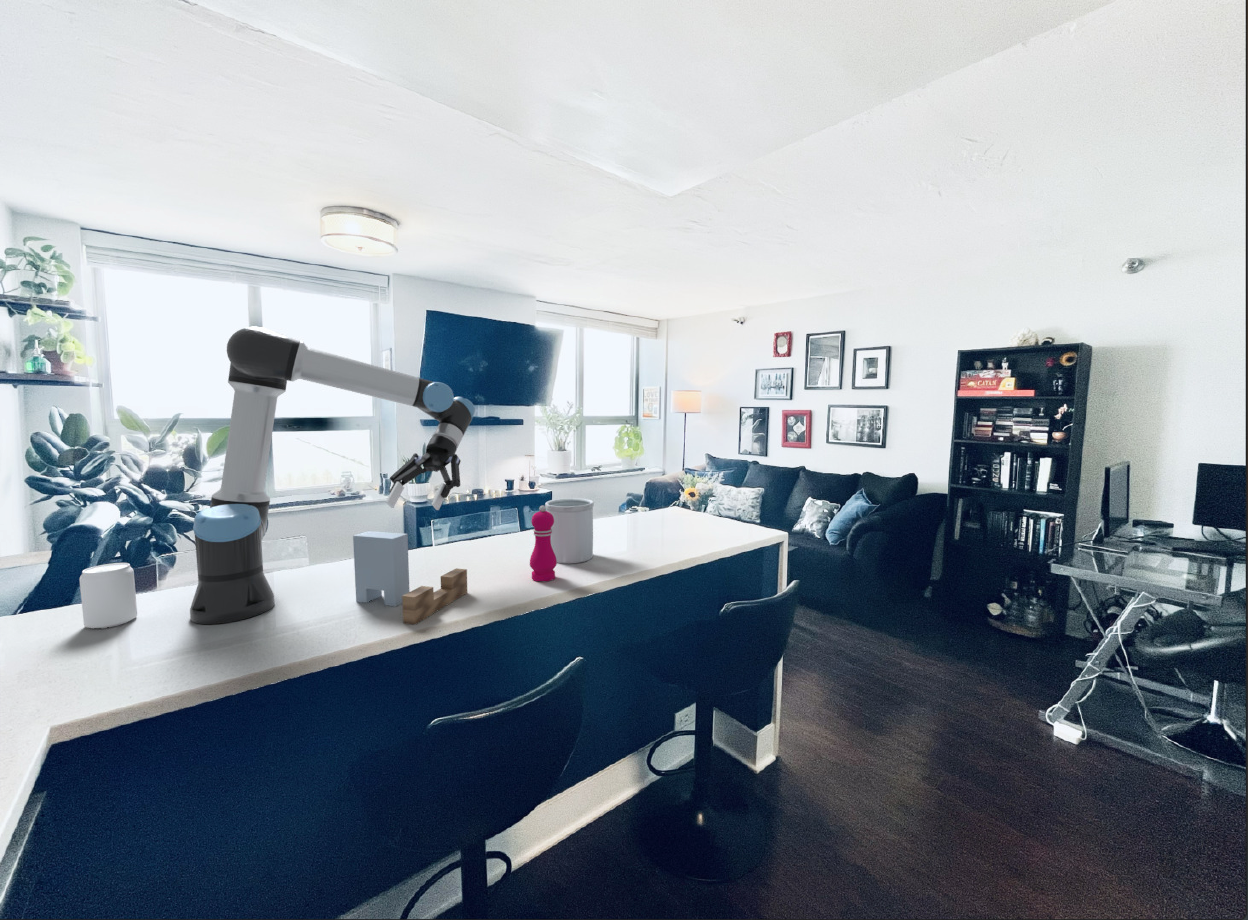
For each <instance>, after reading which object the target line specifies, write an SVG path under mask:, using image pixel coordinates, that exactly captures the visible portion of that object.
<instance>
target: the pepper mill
mask: <svg viewBox="0 0 1248 920" xmlns="http://www.w3.org/2000/svg"><path fill="white" fill-rule="evenodd" d="M538 508H539V511H537V512H535V513H534V514H533V515H532V517H531V525H532V527H533V536H534V539H535V541H534V543H535V544H534V548H533V549H532V550H533V551H532V552H531V554H530V559H529V567H530V568H531V569H532V570H533V571H531V579H533V580H532V581H534V582H538V581H546V582H551V581H553V580H555V578H556V571H555V567H556V566H557V565H558V563H557V561H556V556H555V553H554V551H553V549H552V546H551V535H552V529H551V527H552V526H553V524H554V518H553V515H552V514H551V513H550V512H547V511H546V507H545V505H540V506H539V507H538ZM552 579H553V580H552ZM550 580H551V581H550Z"/></svg>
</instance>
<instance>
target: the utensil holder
mask: <svg viewBox="0 0 1248 920" xmlns="http://www.w3.org/2000/svg"><path fill="white" fill-rule="evenodd" d="M544 506H545V507H546V511H547V512H550V513H551V514H552V515H553V518H554V524H553V526H552V527H551V529H552V535H551V546H552V549H553V551H554V553H555V556H556V561H557V564H578V563H584V562H588V561H590V560H591V559H592V558H593V554H594V553H593V552H594V551H593V549H594V501H593V500H592V499H588V498H584V497H583V498H581V497H580V498H579V497H566V498H556V499H551V500H548V501H546V502H545V504H544Z"/></svg>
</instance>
